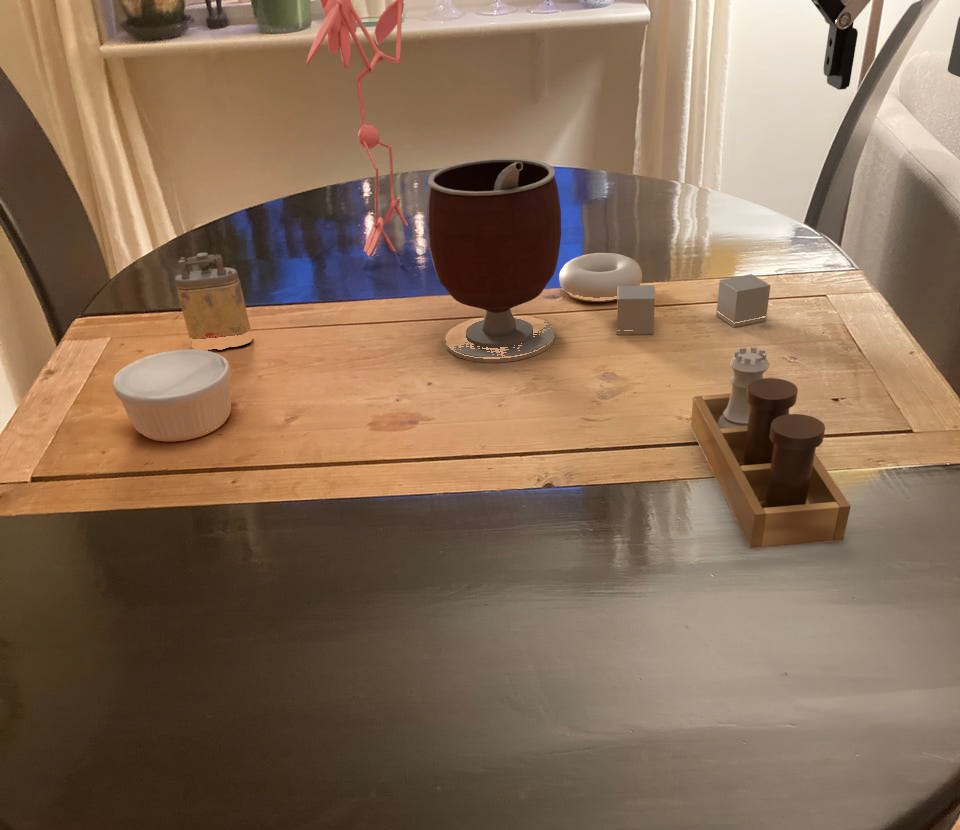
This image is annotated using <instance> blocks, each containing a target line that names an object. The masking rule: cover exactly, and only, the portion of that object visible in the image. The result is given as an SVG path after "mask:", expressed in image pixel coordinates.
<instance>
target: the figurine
mask: <svg viewBox="0 0 960 830" xmlns="http://www.w3.org/2000/svg"><path fill="white" fill-rule="evenodd" d="M320 3H321V7H322V9H323V13H324V20H323V22H322V24H321V25H320V27H319V30H318V31H317V33H316V35H315V37H314V39H313V42H312V45H311V46H310V49H309V53H308V56H307V59H306V64H305V65H307V66H310V64H311V63H312V61H313V59H314V57H315V56H316V54H317V53H318V51H319V50H320V48H321V47H322V45H323V43H324V41H325V40H326V38H327V48H328V49H327V50H328V52H329V54H330V55H331V56H333V55H335V54H337V52H338V51H340V59H341V63H342V65H343V67H344V68H345V69H347V68H348V67H349V66H350V59H351V49H352V48H351V46H352V45H351V38H352V40H353V42H354V44H355V47H356V48H357V50H358V53H359V55H360V57H361V59H362V61H363V64H364V65H365V68H364V69H363V71H361V72H360V73H359V74H358V75H357V76H356V77H357V79H356V80H355V82H356V83H355V84H356V89H357V96H358V102H359V112H360V116H361V124H362V126H361V127H360V128H359V130H358V132H357V139H358V142H359V145H361V146H362V147H363V148H364V149H365V151H366V153H367V155H368V157H369V159H370V161H371V163H372V166H373V167H374V169H375V172H374V173H375V176H374V178H375V179H374V181H375V182H374V183H375V185H374V186H375V191H374V192H375V193H374V194H375V195H374V196H375V197H374V198H375V199H374V200H375V201H374V203H375V204H374V205H375V206H374V207H375V209H374V210H375V221H374V223H373V225H372V226H371V229H370V230H369V233H368V234H367V238H366V242H365V244H364V246H363V247H364V248H363V252H364V251H365V252H366V253H367V255H368V256H371V257H372V256H373V254H374V253H375V251H376V249H377V247H378V245H379V242H380V239H381V237H382V238H383V239H384V241H385V243H386V245H387V246H388V248H389V249H390V251H391V252H392V251H396V252H397V250H396V248H395V247H394V245H393V243H392V241H391V240H390V238H389V236H388V234H387V232H386V230H385V231H384V230H383V227H384V226H385V225H386V224H387V223H388V222H389V221H390V220H391V221H392V220H393V217H394V215H395V213H397V216H398V217H399V219H400V220H401V222H402V224H403V226H404V227H405V226H408V225H409V223H408V222H407V220H406V218H405V216H404V214H403V212H402V210H401V209H400V207H399V205H400V202H401V198H400V197H398V196H397V197H396V199H395V190H394V188H395V187H394V166H393V149H392V146H390V145H389V144H386V143H384V142H382V141H380V135H379V131H378V130H377V128H376V127H375V126H373V125H371V124H366V119H365V108H364V97H363V89H362V80H363V79H364V78H365V76H367V74H368V73H369V74H371V73H372V72H373V70H374V69H375V66H376V64H378V63H379V62H381V63H382V62H383V61H384V60H385V61H387V62H390V63H393V64H395V65H398V66H399V65H400V64H401V57H402V56H401V54H402V52H401V50H402V19H403V13H404V6H405V3H404V0H393V1H392V2H391V3H390V4H388V5H387V7H386V8H385V10H384V11H383V12H382V13H381V15H380V16H379V19H378V20H377V22H376V24H375V28H374V33H373V34H374V39H375V42H374V40H373V38H372V36H371V35H370V33H369V31H368V30H367V28H366V27H365V24H364V22H363V21H362V19H361V17H360V16H359V14H358V13H357V10H356V9H355V7H354V4H353V3H352V0H320ZM358 26H359V28H360V29H361V31H362V33H363V34H364V36H365V38H366V39H367V41H368V43H369V45H370V46H371V48H372V50H373V51H374V53H375V55H374V56H373V58H372V61H371V62H370V61H369V59H368V57H367V55H366V52H365V50H364V49H363V46H362V45H361V43H360V40H359V38H358V36H357V34H356V33H357V31H358V30H357V29H358ZM395 28H396V50H395V51H396V53H395V57H393V56H390V55H387V54H386V53H384V52H383V51H381V50H379V48H378V47H377V46H380V45H381V43H383V41H385V40H386V38H388V37H389V35H390V34H391V33H392V32H393V31H394V29H395ZM376 44H377V45H376ZM377 145H379V146H382V147H384V148H387V149H388V157H389V174H390V175H389V177H390V192H391V193H390V195H391V202H390V204H389V205H390V207H389V209H388V210H387V212H386V213H385V216H384V217H382V216H379V168H378V166H377V164H376V162H375V159H374V157H373V155H372V153H371V150H370V149H373V148H375V147H376V146H377ZM391 221H390V222H391ZM381 234H382V236H381ZM380 236H381V237H380Z"/></svg>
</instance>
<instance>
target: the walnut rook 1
mask: <svg viewBox="0 0 960 830" xmlns="http://www.w3.org/2000/svg"><path fill="white" fill-rule="evenodd" d="M798 391H799V389H798V386H796V384H795V383H793V382H792V381H790V380H786V379H782V378H776V377H766V378H764V377H763V379H758V380H755V381H753V382H751V383H750V384H749V385H748V387H747V395H746V401H747V402H748V404H750V413H749V420H748V428H747V436H746V444H745V452H744V459H743V463H742V464H740V465H739V466H744V465H756V464H767V463H771V459H772V452H773V446H774V443H773V442H772V441H771V440H770V437H769V435H770V428H771V423H772V421H773V420H774V419H775V418H777V417H779V416H783V415H788V414H790V409H791V408H792V407H794V406H795V405H796V403H797V397H798Z"/></svg>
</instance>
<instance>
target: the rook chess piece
mask: <svg viewBox="0 0 960 830" xmlns="http://www.w3.org/2000/svg"><path fill="white" fill-rule="evenodd" d="M757 351H758V346H750V351H747V347H746V346H743V347H740V348H739V349H736V351H735V352H734V356H733V358H732V359H730V361H729V366H730V368H731V369H732V371H733V376H731V377H730V383H731V392H730V393H731V395H730V399H729V403H728V406H727V408H726V409H725V410H724V412H723V415H721V416H720V418H719V420H718V422H717V425H718V427H719V429H722V428H734V427H745V426H748V420H749V413H750V404H748V402H747V401H746V395H747V387H748V385H749V384H750V383H751V382H753V381H755V380H758V379H764V377H763V376H764V373H765V372H766V371H767V370H768V369H769V367H770V365H771V363H770V362H769V360H768V359H767V356H768V355H767V352H766V350H765V349H763V348H760V349H759V351H758V352H757Z"/></svg>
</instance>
